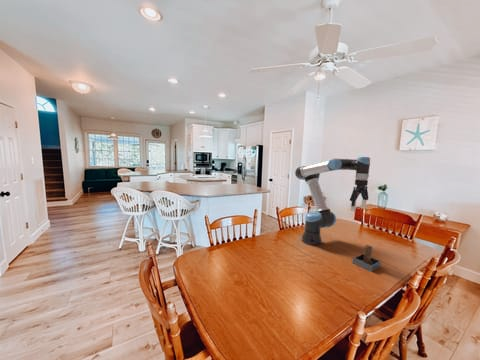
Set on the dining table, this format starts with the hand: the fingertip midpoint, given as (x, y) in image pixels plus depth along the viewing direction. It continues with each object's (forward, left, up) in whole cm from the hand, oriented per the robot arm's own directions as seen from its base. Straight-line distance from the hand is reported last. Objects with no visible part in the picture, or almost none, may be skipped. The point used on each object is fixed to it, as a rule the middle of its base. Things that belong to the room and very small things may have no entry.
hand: (358, 209), depth 141 cm
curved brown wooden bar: (+13, -9, -31) cm, 35 cm away
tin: (+13, -9, -32) cm, 35 cm away
